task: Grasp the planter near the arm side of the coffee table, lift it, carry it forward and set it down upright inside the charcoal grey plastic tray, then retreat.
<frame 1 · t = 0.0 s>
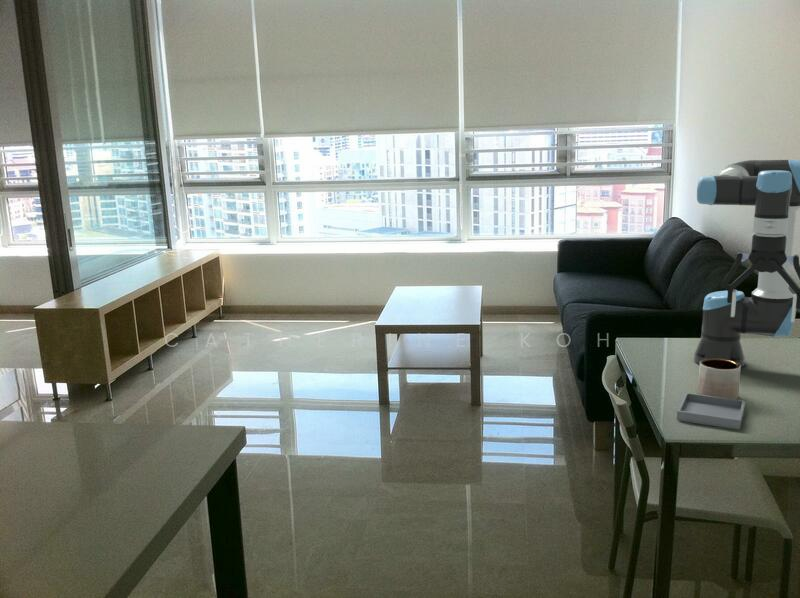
hand: (762, 318, 186), 28 cm above the table, fingers open, 13 cm apart
tray: (711, 414, 199), on the table
planter: (717, 396, 212), on the table
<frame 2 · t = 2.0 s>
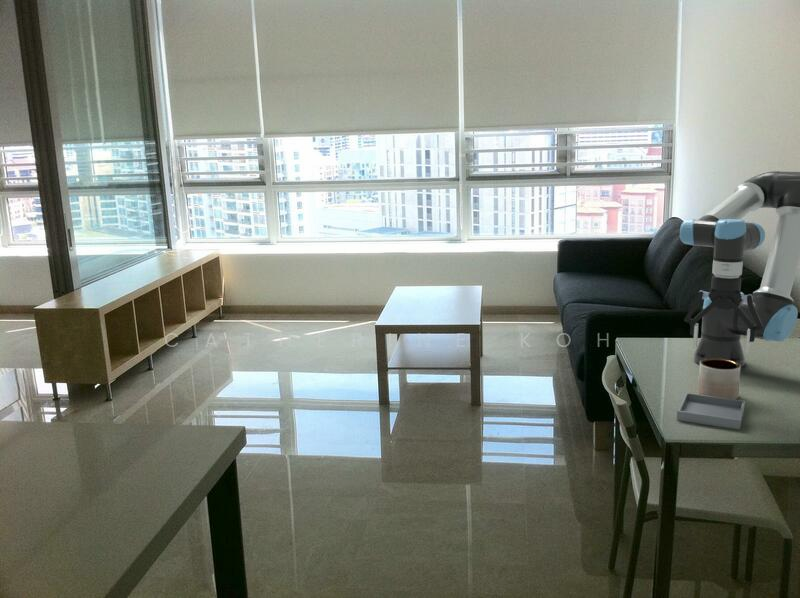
hand: (720, 349, 209), 14 cm above the table, fingers open, 13 cm apart
nothing on the table moved.
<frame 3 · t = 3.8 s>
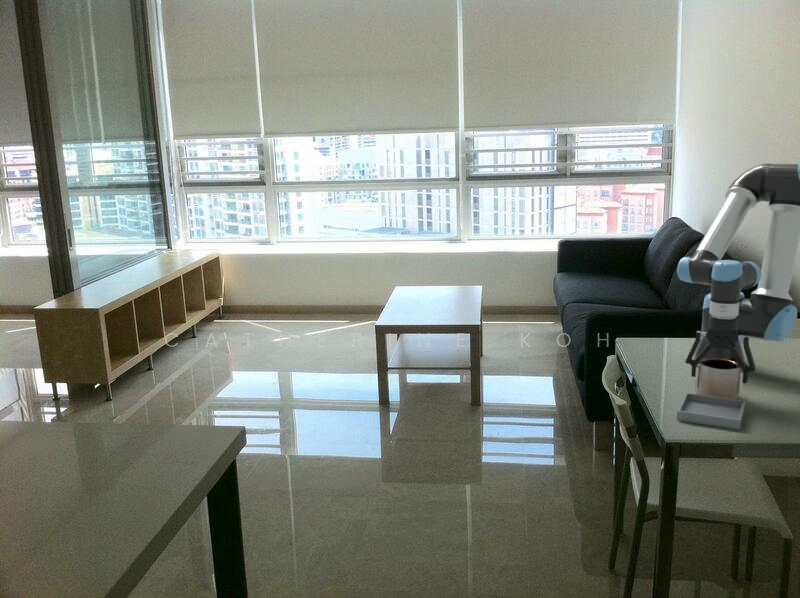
hand: (718, 390, 212), 2 cm above the table, fingers closed on planter, 11 cm apart
planter: (717, 396, 212), on the table, touching gripper
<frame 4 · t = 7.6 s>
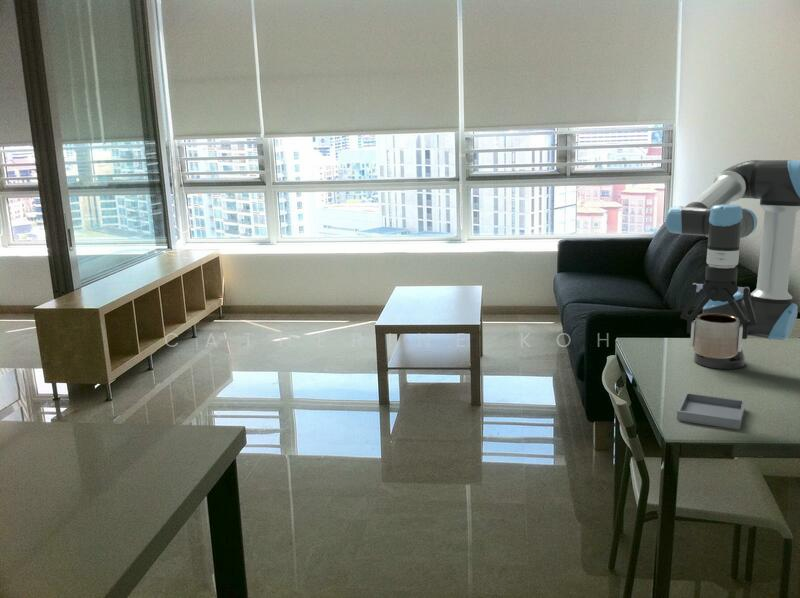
hand: (715, 347, 195), 18 cm above the table, fingers closed on planter, 11 cm apart
planter: (715, 353, 195), point 17 cm above the table, touching gripper
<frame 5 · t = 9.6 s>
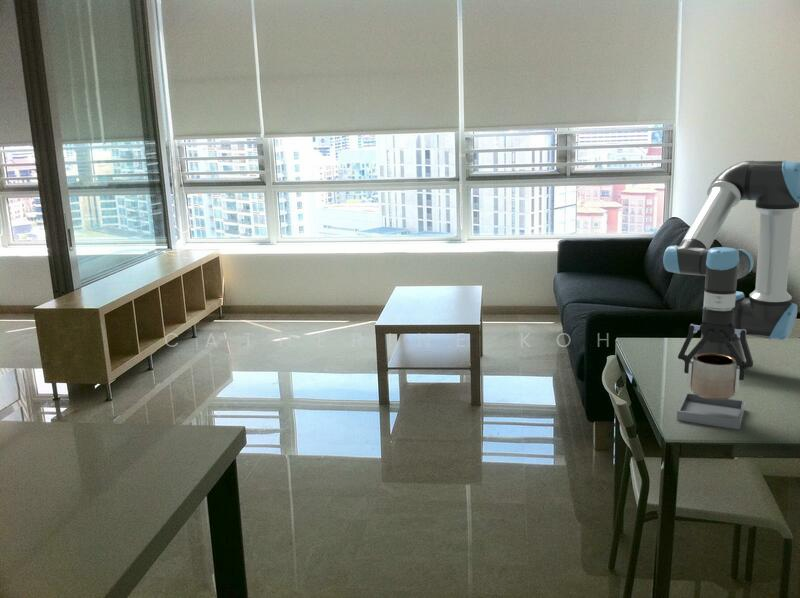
hand: (712, 388, 197), 8 cm above the table, fingers closed on planter, 11 cm apart
planter: (712, 394, 197), point 6 cm above the table, touching gripper
when the fingers open (4 cm above the table, at t = 11.4 s): planter drops 2 cm, resting on tray.
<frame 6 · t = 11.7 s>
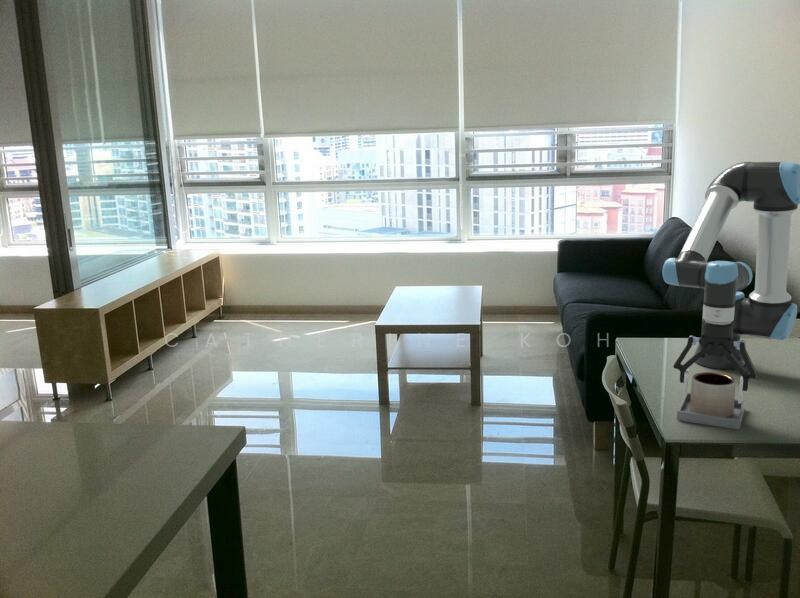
hand: (712, 398, 198), 5 cm above the table, fingers open, 13 cm apart
planter: (711, 413, 199), resting on tray
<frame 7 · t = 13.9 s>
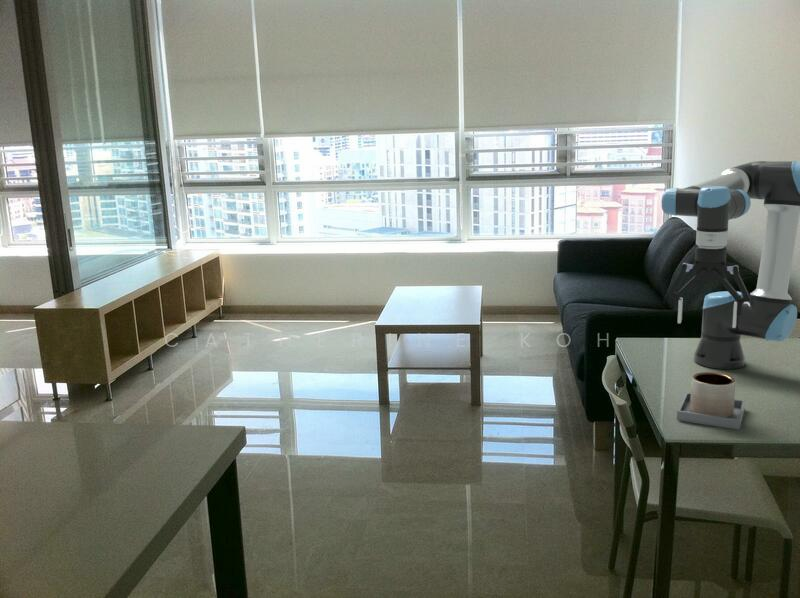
hand: (706, 324, 199), 24 cm above the table, fingers open, 13 cm apart
nothing on the table moved.
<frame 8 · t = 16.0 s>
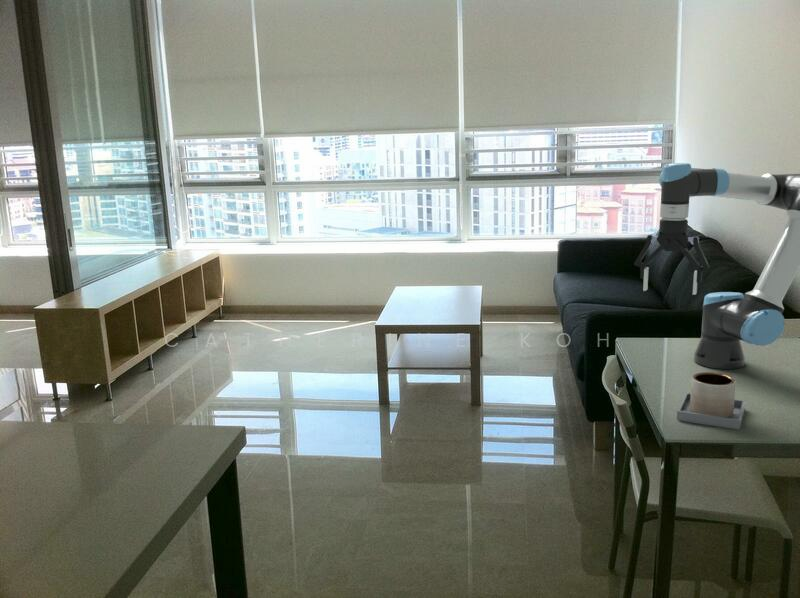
hand: (669, 291, 215), 29 cm above the table, fingers open, 13 cm apart
nothing on the table moved.
at the end: planter 0.1 cm off-centre on the tray, point 0.4 cm above the tray's base; planter tilted 0°; the gripper is holding nothing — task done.
